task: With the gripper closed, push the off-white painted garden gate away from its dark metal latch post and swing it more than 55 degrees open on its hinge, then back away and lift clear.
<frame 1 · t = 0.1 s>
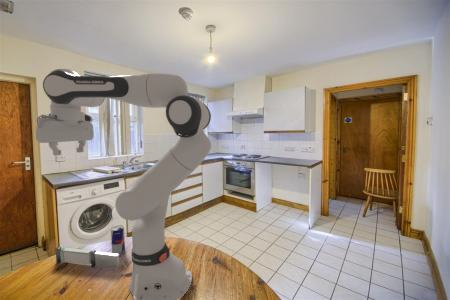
hand: (69, 153, 76), 48 cm above the table, fingers open, 8 cm apart
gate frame: (94, 265, 85), on the table
energy drink: (118, 253, 94), on the table
gate: (76, 256, 86), point 3 cm above the table, hinge at 0.0°
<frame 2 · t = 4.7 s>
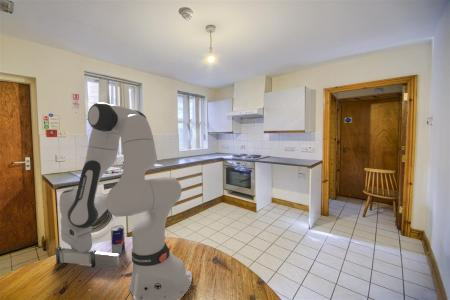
hand: (76, 255, 89), 2 cm above the table, fingers closed
gate: (75, 256, 86), point 3 cm above the table, hinge at 1.6°, touching gripper
everything else where it was.
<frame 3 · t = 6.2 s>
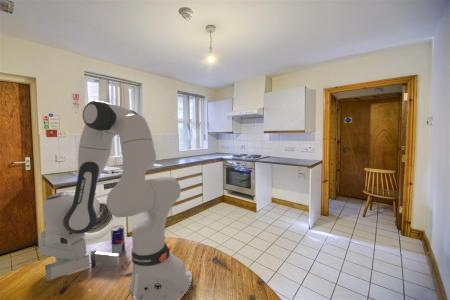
hand: (63, 266, 82), 2 cm above the table, fingers closed
gate: (68, 266, 80), point 3 cm above the table, hinge at 45.2°, touching gripper
everything else where it was.
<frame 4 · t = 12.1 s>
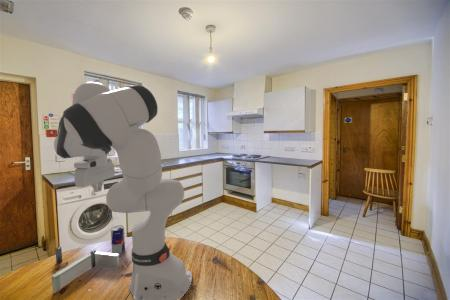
hand: (97, 191, 92), 29 cm above the table, fingers closed
gate: (73, 271, 77), point 3 cm above the table, hinge at 80.7°
everything else where it was.
at the end: gate at +81° (first picture: +0°); energy drink moved 0.2 cm from its start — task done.
